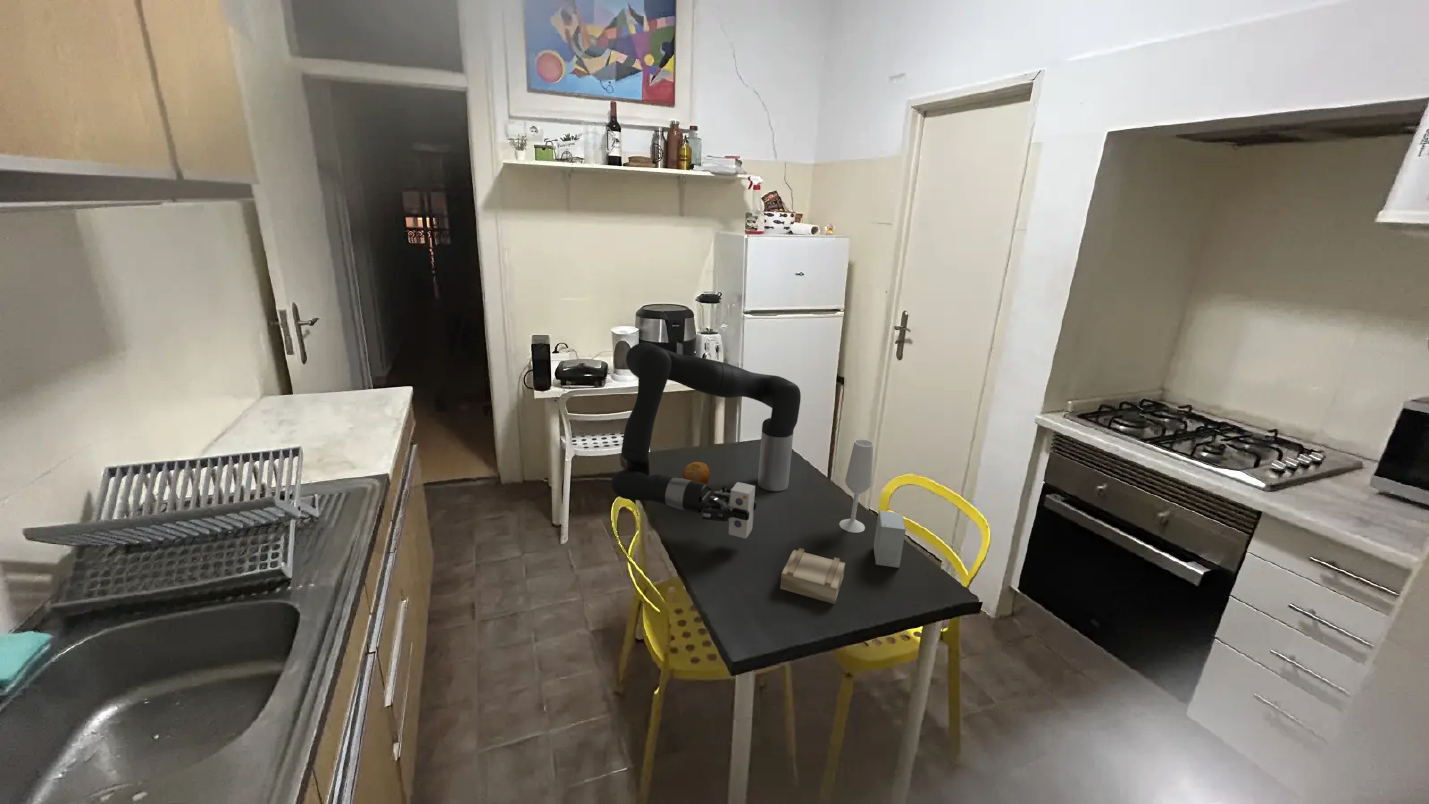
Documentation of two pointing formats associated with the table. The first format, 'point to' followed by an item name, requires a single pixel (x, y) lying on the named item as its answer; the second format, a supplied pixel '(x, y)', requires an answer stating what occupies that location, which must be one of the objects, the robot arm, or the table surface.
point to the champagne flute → (858, 479)
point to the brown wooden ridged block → (813, 576)
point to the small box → (889, 539)
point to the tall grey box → (742, 500)
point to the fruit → (697, 472)
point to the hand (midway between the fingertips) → (752, 510)
